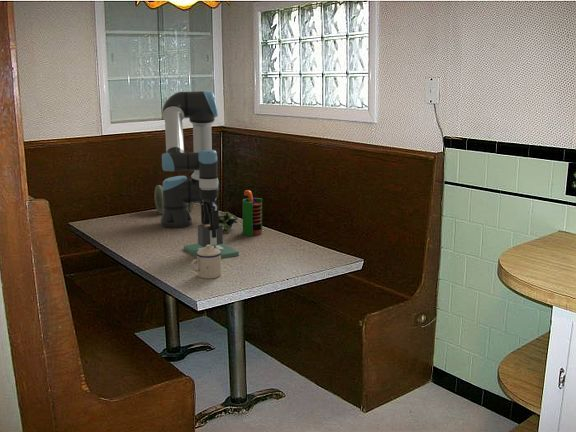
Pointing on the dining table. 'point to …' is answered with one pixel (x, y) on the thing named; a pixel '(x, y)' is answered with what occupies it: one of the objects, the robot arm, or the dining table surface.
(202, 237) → the plug housing
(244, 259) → the dining table surface
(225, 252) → the header board
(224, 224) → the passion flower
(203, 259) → the teacup with lid
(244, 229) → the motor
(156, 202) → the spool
